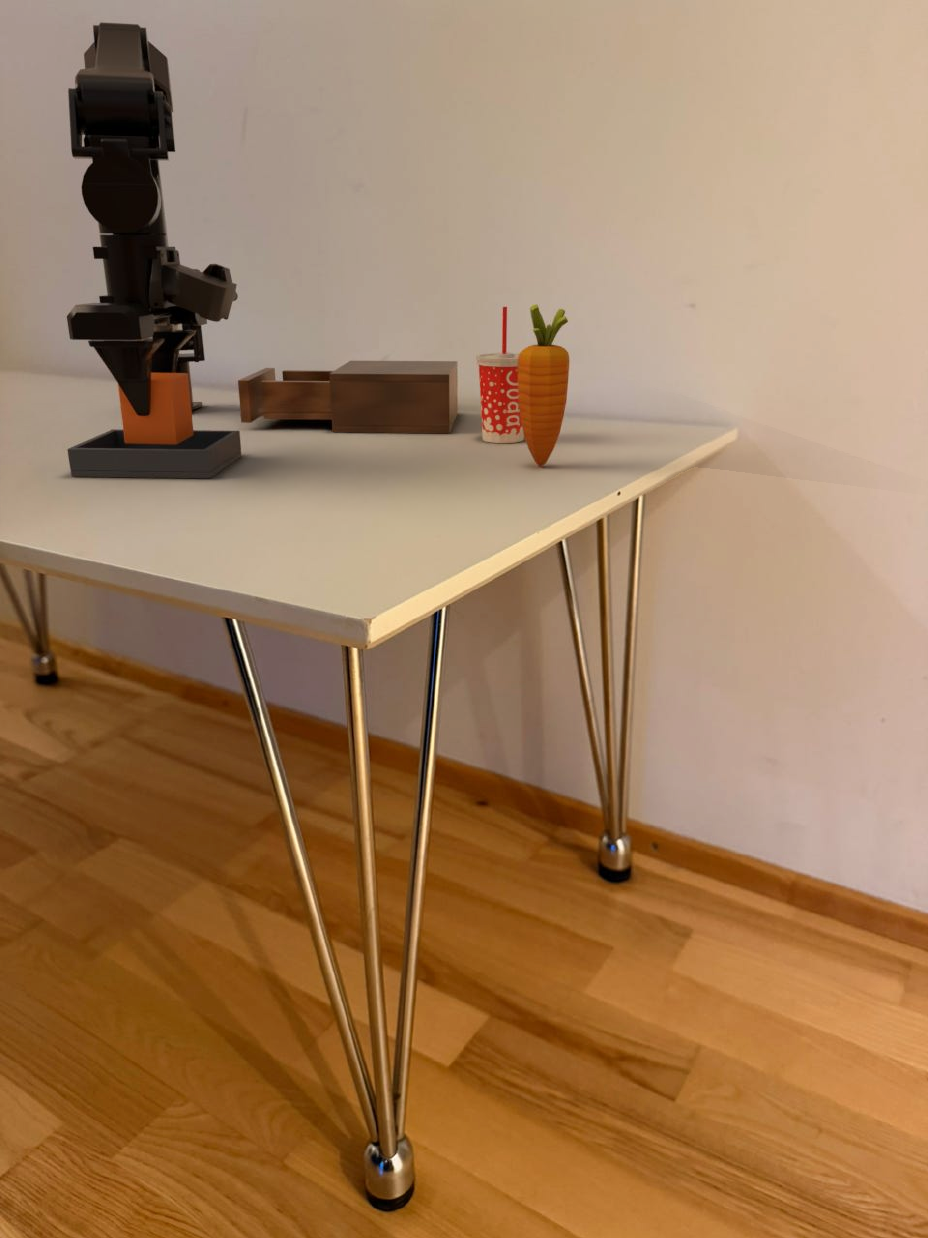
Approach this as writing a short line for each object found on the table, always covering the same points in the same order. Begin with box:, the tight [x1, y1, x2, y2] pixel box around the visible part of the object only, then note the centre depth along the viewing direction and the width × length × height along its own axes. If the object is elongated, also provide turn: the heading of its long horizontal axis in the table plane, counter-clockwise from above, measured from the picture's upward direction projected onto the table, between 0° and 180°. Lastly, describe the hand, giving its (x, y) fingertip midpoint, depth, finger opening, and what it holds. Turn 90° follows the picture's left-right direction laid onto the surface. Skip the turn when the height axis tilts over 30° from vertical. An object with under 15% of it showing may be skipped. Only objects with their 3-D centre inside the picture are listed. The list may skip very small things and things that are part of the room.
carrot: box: [518, 304, 570, 468], centre depth 89 cm, size 5×5×15 cm
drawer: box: [237, 367, 334, 424], centre depth 115 cm, size 14×12×5 cm
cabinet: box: [329, 360, 459, 434], centre depth 114 cm, size 14×14×7 cm
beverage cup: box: [475, 306, 525, 444], centre depth 103 cm, size 6×6×14 cm
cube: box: [117, 373, 194, 445], centre depth 91 cm, size 5×5×6 cm
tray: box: [66, 428, 243, 479], centre depth 92 cm, size 10×13×3 cm
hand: (154, 410), depth 91 cm, fingers closed on cube, 5 cm apart
